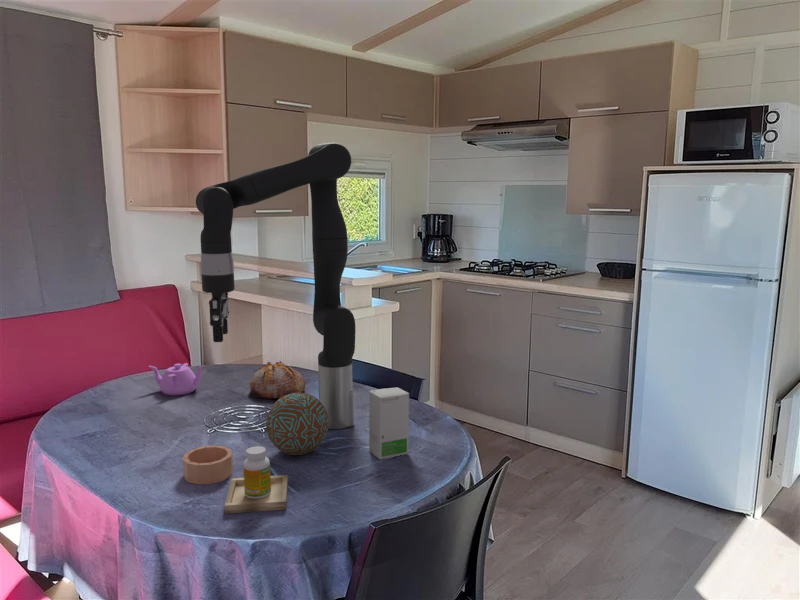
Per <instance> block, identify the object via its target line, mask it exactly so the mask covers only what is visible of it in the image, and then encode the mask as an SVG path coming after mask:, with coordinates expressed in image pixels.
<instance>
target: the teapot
mask: <svg viewBox="0 0 800 600" xmlns="http://www.w3.org/2000/svg"><path fill="white" fill-rule="evenodd" d="M148 367H149V368H151V370H152V371H153V375H154V380H155V383H157V385H159V390H160V391H161V392H162V393H163V394H165V395H166V396H184V395H188V394H190V393H193V392H194V391H195V390H196V389H197V387H198V385H199V384H200V383H201V381H202V369H203V368H204V367H205V365H199V366H198V368H197V369H196V375H195V373H194V371H193V370H192V369H191V368H190V367H189V364H188V362H186V363H183V364H182V363H175V364H173V366H171V367H168V368H167V369H166V370H165V371H164V372H163V375H162V376H161V375H160V373H159V370H158V368H157V366H154V365H148Z"/></svg>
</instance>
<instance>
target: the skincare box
mask: <svg viewBox="0 0 800 600" xmlns="http://www.w3.org/2000/svg"><path fill="white" fill-rule="evenodd" d="M368 395H369V396H368V397H369V398H368V399H369V400H368V401H369V404H368V405H369V407H368V408H369V409H368V410H369V411H368V412H369V413H368V422H369V423H368V424H369V425H368V429H369V430H368V449H369V450H368V451H369V452H370V453H371V454H372V455H374V457H375V458H377V459H378V460H385V459H390V458H394V457H395V456H396V457H398V456H399V457H401V456H405V454H406V455H409V439H410V438H409V437H410V436H409V432H410V430H409V426H410V424H409V423H410V422H409V421H410V420H409V419H410V393H409V392H408V391H405V390H403V389H402V388H400V387H388V388H379V389H371V390H369V391H368ZM400 455H401V456H400Z"/></svg>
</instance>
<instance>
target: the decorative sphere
mask: <svg viewBox="0 0 800 600" xmlns="http://www.w3.org/2000/svg"><path fill="white" fill-rule="evenodd" d="M265 422H266V424H265V427H266V431H267V436H268V438H269V441H270V442H271V444H273V446H274V447H275V448H277V450H279V451H281V452H282V453H285V454H287V455H291V456H302V455H306V454H309V453H311V452H312V451H314V450H316V449H317V448H318V447H319V446H320V445H321V444H322V443H323V442H324V441H325V439H326V436H327V434H328V431H329V429H328V424H329V420H328V415H327V412H326V409H325V407H324V406H323V404H322V403H321V402H320V401H319V398H316V397H315V396H314V395H312V394H309V393H306V392H302V393H297V392H296V393H290V394H287V395H286V396H283V397H281V398H280V399H278V398H277V400H276V401H275V402H274V403H273V405H272V406H271V408H270V410H269V411H268V414H267V416H266V421H265Z"/></svg>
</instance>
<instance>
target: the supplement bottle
mask: <svg viewBox="0 0 800 600" xmlns="http://www.w3.org/2000/svg"><path fill="white" fill-rule="evenodd" d="M245 455H246V459H244V462H243V466H242V467H243V478H244V490H245V496H246V497H248V498H250V499H261V498H264V497H267V496H268V495H269V494H270V492H271V479H270V476H271V463H270V459H269V458H268V457H267V450H266V447H264V446H259V445H258V446H251V447H249V448H247V449H246V451H245Z"/></svg>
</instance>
